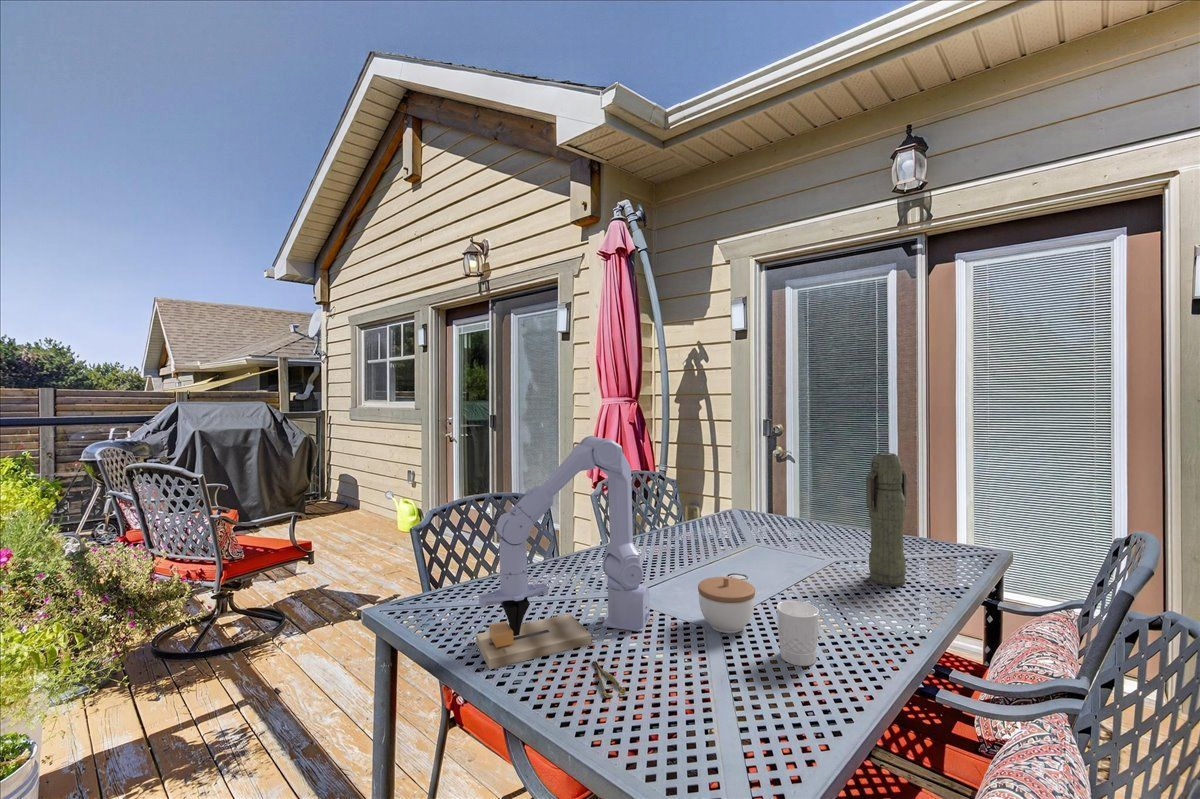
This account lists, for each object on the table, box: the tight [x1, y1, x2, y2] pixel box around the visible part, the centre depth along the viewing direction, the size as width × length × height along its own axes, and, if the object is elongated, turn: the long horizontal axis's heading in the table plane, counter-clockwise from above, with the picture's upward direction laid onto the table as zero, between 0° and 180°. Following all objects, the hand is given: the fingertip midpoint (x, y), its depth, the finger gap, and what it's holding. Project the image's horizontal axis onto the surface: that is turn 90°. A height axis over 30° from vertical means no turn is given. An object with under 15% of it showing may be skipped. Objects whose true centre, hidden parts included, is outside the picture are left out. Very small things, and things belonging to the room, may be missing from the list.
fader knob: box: [489, 620, 514, 648], centre depth 110 cm, size 4×6×2 cm, turn 25°
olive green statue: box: [865, 452, 907, 587], centre depth 145 cm, size 9×12×35 cm
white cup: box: [776, 600, 820, 667], centre depth 105 cm, size 8×8×10 cm
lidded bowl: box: [697, 576, 756, 634], centre depth 120 cm, size 13×13×11 cm
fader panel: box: [475, 613, 592, 670], centre depth 113 cm, size 22×12×2 cm, turn 115°
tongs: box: [592, 660, 627, 699], centre depth 99 cm, size 4×13×2 cm, turn 24°
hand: (515, 633), depth 111 cm, fingers closed
